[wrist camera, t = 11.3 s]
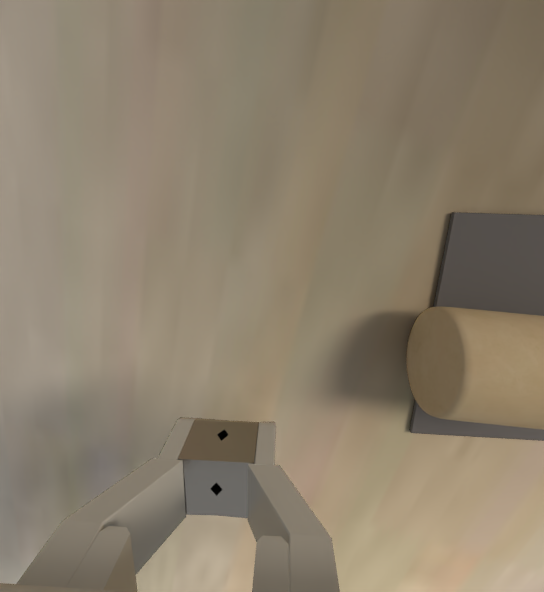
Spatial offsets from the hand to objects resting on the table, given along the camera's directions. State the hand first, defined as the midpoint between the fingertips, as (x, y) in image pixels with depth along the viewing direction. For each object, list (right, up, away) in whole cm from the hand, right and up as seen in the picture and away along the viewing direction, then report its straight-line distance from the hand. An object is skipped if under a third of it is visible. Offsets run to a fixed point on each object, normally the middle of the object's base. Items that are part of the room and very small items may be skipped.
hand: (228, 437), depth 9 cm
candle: (+9, +1, +6) cm, 11 cm away
